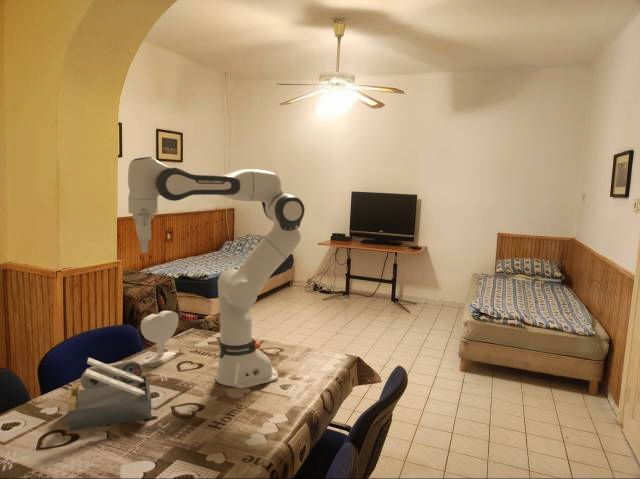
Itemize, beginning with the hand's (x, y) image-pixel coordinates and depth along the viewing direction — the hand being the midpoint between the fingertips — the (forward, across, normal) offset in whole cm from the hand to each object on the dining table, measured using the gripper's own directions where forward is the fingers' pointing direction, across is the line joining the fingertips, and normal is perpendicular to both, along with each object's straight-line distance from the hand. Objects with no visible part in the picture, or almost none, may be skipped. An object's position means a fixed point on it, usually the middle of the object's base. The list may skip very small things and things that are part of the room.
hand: (143, 250), depth 155 cm
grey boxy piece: (+48, -14, +10) cm, 51 cm away
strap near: (+37, -18, +9) cm, 43 cm away
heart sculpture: (+48, +28, -7) cm, 56 cm away
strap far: (+37, -9, +9) cm, 40 cm away
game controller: (+48, +6, +10) cm, 50 cm away
